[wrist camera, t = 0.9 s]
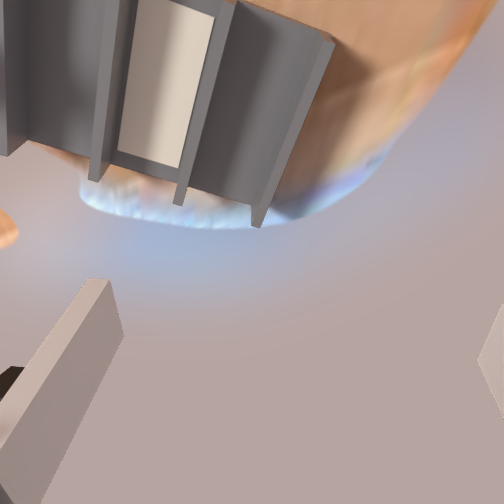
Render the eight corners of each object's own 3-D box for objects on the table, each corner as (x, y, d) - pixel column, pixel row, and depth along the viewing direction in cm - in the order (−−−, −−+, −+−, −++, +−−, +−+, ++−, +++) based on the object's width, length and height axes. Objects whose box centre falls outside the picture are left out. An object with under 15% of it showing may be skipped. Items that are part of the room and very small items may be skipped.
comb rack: (19, -88, 26) (-23, -94, 22) (330, 33, 30) (341, 46, 26) (21, 128, 35) (-10, 152, 31) (263, 200, 39) (264, 229, 35)
